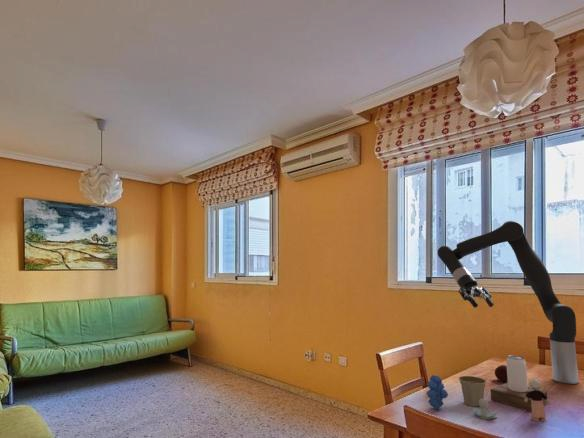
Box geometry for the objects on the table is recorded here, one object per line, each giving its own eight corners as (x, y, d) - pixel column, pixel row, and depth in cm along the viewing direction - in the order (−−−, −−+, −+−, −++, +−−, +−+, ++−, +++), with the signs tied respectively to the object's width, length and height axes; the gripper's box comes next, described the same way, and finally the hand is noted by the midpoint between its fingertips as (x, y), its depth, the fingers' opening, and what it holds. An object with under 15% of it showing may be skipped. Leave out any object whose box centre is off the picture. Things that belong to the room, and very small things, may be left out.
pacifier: (476, 412, 133) (470, 416, 129) (475, 393, 134) (470, 397, 130) (499, 418, 128) (494, 422, 124) (498, 398, 129) (493, 402, 125)
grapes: (443, 417, 128) (441, 380, 129) (423, 412, 132) (422, 376, 134) (454, 408, 137) (452, 373, 138) (435, 403, 141) (434, 369, 142)
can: (530, 393, 140) (528, 359, 142) (511, 392, 141) (509, 358, 143) (524, 388, 146) (521, 355, 148) (505, 386, 148) (503, 354, 149)
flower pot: (486, 401, 144) (484, 377, 145) (489, 410, 135) (488, 384, 136) (458, 398, 147) (457, 374, 148) (460, 406, 138) (459, 381, 139)
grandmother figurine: (544, 416, 129) (541, 377, 130) (552, 421, 125) (549, 381, 126) (522, 417, 129) (519, 377, 130) (529, 421, 125) (527, 381, 126)
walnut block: (508, 392, 153) (507, 382, 153) (547, 402, 142) (546, 391, 142) (491, 400, 145) (490, 389, 145) (531, 411, 134) (530, 399, 134)
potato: (514, 380, 170) (513, 363, 171) (513, 385, 163) (512, 368, 164) (496, 377, 174) (495, 361, 175) (494, 382, 167) (493, 365, 168)
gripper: (455, 273, 177) (475, 301, 165) (480, 273, 181) (501, 300, 169) (448, 284, 182) (467, 312, 169) (472, 284, 186) (493, 311, 174)
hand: (484, 306), depth 169 cm, fingers open, 8 cm apart
